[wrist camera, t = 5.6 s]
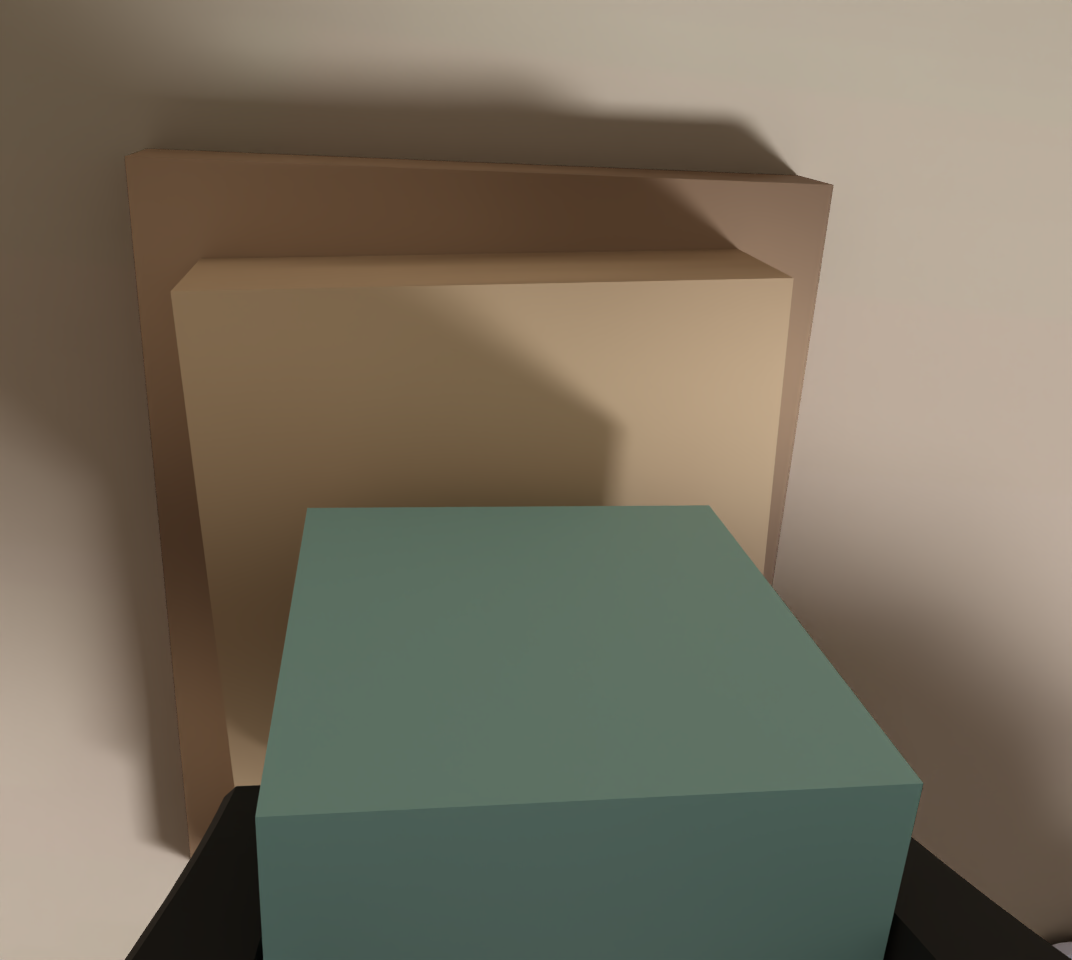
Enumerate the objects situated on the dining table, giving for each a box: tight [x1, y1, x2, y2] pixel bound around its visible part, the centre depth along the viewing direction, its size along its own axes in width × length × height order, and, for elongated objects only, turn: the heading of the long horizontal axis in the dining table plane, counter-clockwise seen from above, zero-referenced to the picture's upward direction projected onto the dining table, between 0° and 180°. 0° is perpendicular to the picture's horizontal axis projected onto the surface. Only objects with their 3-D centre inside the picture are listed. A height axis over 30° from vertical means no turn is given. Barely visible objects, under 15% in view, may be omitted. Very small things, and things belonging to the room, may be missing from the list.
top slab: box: [170, 249, 794, 787], centre depth 14 cm, size 10×7×2 cm
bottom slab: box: [125, 149, 833, 858], centre depth 16 cm, size 12×9×2 cm
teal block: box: [255, 505, 923, 960], centre depth 10 cm, size 4×4×5 cm
